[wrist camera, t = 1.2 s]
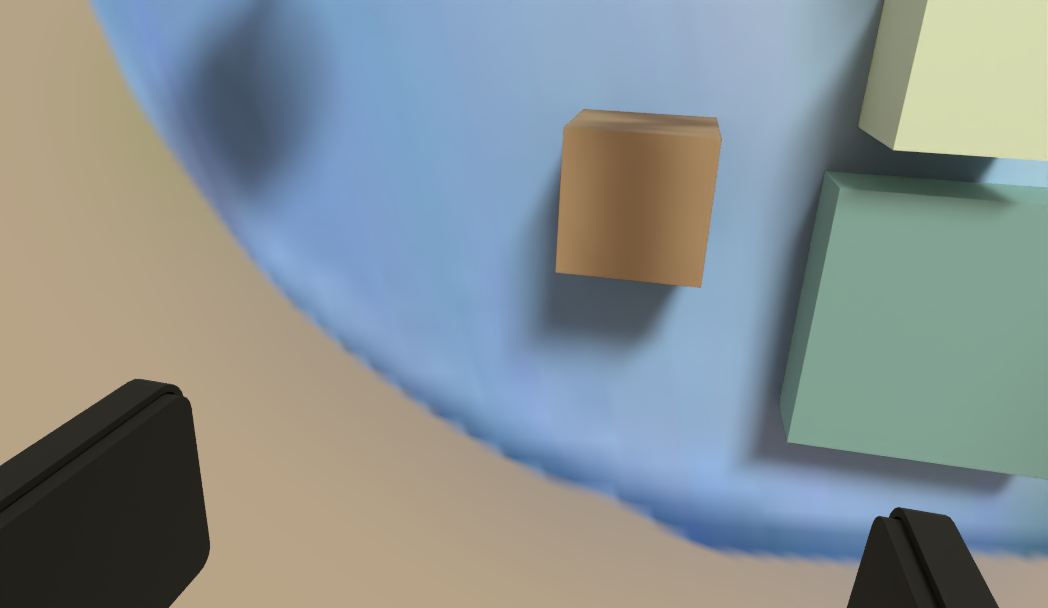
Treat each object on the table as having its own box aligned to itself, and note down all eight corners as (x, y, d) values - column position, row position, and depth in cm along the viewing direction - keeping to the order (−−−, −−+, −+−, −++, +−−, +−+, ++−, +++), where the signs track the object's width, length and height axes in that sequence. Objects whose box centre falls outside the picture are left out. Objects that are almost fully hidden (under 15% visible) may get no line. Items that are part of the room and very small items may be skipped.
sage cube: (1054, -20, 28) (1142, -29, 22) (1008, 136, 30) (1079, 163, 25) (889, -25, 29) (935, -34, 24) (857, 126, 31) (892, 150, 26)
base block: (1122, 191, 30) (1180, 216, 27) (1034, 434, 35) (1074, 483, 31) (823, 169, 33) (840, 188, 29) (777, 400, 37) (787, 442, 33)
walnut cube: (716, 117, 32) (721, 138, 27) (699, 244, 35) (700, 287, 29) (584, 109, 33) (563, 127, 28) (575, 232, 36) (555, 272, 30)
